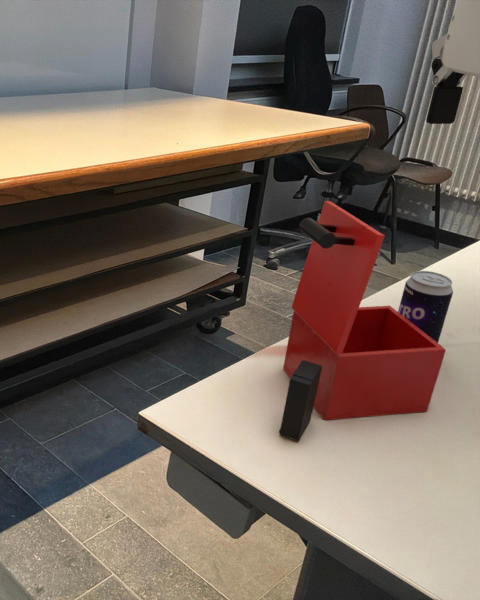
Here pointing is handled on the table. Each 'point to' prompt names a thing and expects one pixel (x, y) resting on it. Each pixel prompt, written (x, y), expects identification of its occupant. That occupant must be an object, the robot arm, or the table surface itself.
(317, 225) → the red box lid
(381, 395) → the red box
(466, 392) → the table surface
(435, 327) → the beverage can
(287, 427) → the ink cartridge
